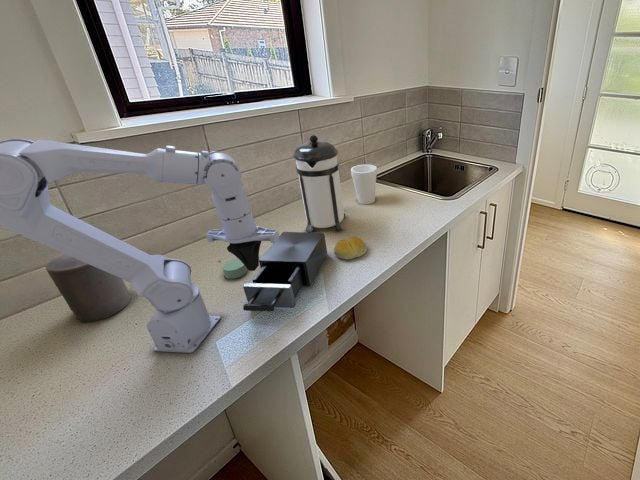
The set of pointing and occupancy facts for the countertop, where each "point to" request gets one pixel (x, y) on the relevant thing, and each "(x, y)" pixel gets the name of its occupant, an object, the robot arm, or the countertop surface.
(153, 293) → the robot arm
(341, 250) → the bread roll
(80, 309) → the pillar candle
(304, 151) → the coffee press
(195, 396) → the countertop surface
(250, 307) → the dish drawer
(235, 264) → the green short cylinder
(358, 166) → the foam cup
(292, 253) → the drawer cabinet
